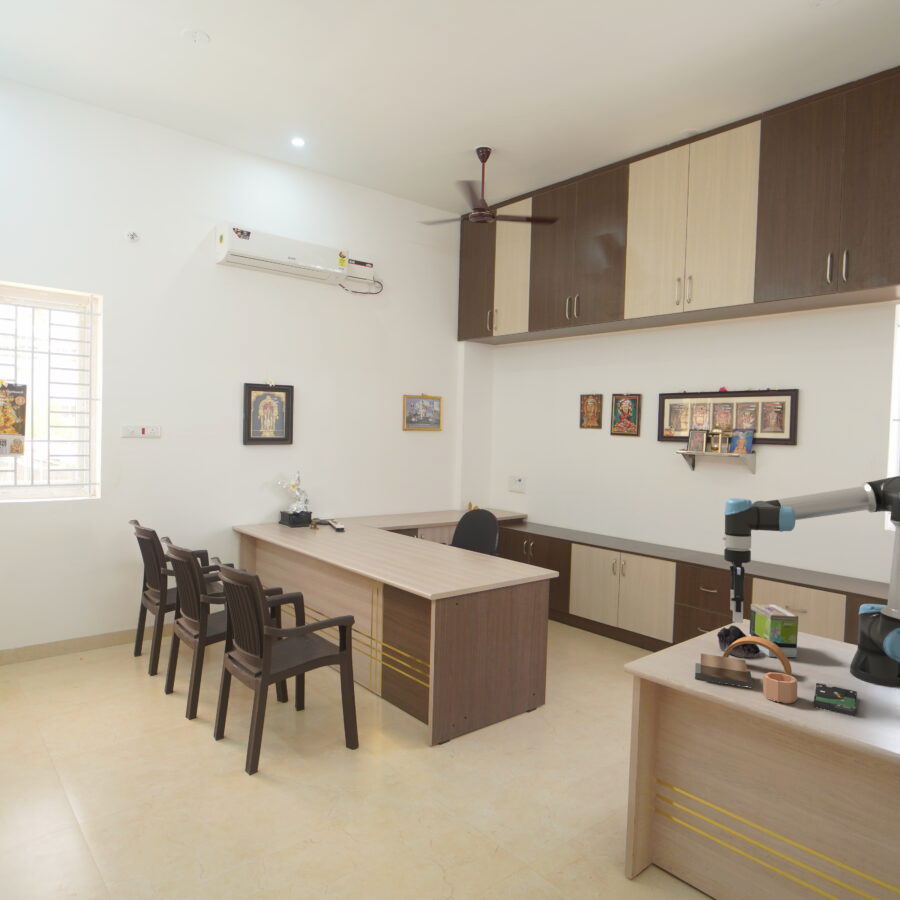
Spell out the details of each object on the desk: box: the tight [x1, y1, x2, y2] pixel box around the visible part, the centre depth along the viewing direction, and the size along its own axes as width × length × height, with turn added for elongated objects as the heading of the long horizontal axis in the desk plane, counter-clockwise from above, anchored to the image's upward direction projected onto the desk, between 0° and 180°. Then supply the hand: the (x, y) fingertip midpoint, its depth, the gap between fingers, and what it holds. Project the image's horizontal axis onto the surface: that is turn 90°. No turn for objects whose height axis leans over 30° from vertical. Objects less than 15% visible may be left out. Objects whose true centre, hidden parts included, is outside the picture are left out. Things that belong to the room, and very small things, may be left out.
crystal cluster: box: [716, 625, 761, 658], centre depth 220 cm, size 13×14×10 cm
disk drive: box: [813, 682, 858, 718], centre depth 179 cm, size 10×3×15 cm
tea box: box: [748, 603, 799, 658], centre depth 222 cm, size 15×10×15 cm
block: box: [694, 662, 753, 688], centre depth 195 cm, size 16×9×2 cm, turn 68°
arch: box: [722, 635, 793, 676], centre depth 204 cm, size 6×20×10 cm, turn 53°
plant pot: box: [762, 671, 798, 704], centre depth 181 cm, size 8×8×6 cm
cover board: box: [700, 653, 748, 682], centre depth 195 cm, size 13×11×3 cm
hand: (736, 616), depth 196 cm, fingers open, 13 cm apart
